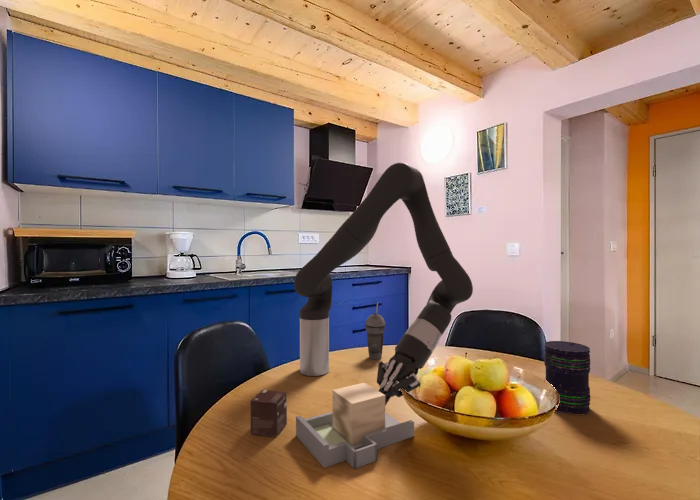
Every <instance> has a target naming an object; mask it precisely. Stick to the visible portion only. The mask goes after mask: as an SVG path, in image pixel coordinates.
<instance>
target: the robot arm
mask: <svg viewBox="0 0 700 500" xmlns="http://www.w3.org/2000/svg"><path fill="white" fill-rule="evenodd" d="M424 179H425V178H424V176H423V174H422V172H420V170H418V169H417V168H416V167H414V166H412V165H410V164H408V163H406V162H396V163H393V164H391V165H390V166H389V167H388V168H386V169H385V171H384V172H383V173H382V174H381V175H380V177H379V179H378V180H377V182H376V183H375V185H374V186H373V188H371V190H370V192H369V193H368V194H367V196H366V197H365V198H364V199H363V200H362V201H361V202H360V204H359V205H358V206H357V208H356V209H355V210H354V211H353V212H352V214H350V216H349V217H348V218H347V219H346V220H345V221H344V222H343V223H342V224H341V225H340V226H339V228H338V229H337V230H336V232H335V233H334V234H333V235H332V236H331V237H330V239H329V240H328V241H327V242H326V243H324V245H323V247H322V248H321V249H320V250H319V251H318V252H317V254H315V256H314V257H313V258H311V259H310V260H309V261H308V262H307V263H306V264H305V265H304V266H302V267H301V268H300V269H299V270H298V271H297V273H296V275H295V277H294V280H293V281H294V282H293V287H294V291H295V292H296V293H297V295H299V296H301V297H304V298H307V301H306V303H305V304H304V305H303V306H302V307H301V308H300V310H299V373H300V374H301V375H303V376H306V377H307V376H308V377H309V376H310V377H318V376H323V375H326V374H328V373H329V372H330V311H331V307H332V304H333V303H332V302H333V301H332V300H333V299H332V298H333V279H332V278H333V277H332V275H331V273H332V272H333V271H334V270H336V269H337V268H339V267H340V266H342V265H344V264H345V263H347V262H349V261H350V260H351V259H353V258H354V257H356V256H357V255H358V254H359V253H360V252H361V251H362V250H364V248H365V247H366V246H367V245H368V244H369V243H370V242H371V241H372V239H373V238H374V237H375V234H376V232H377V230H378V227H379V225H380V222H381V220H382V219H383V217H384V215H385V214H386V213H387V212H388V210H390V208H391V207H392V206H393V205H394V204H395V203H397V202H398V201H399V200H401V201H402V203H403V204H404V206H405V207H406V209H407V210H408V212H409V214H410V216H411V219H412V223H413V228H414V233H415V238H416V243H417V246H418V248H419V250H420V253H421V256H422V257H423V261H425V264H426V267H427V268H428V270H430V271H431V272H436V274H438V277H440V279H441V280H440V281H439V282H438V283H437V284H436V285H435V286H434V288H433V289H432V292H431V293H430V295H429V298H428V300H427V302H426V305H425V306H424V307H423V308H422V310H421V311H420V313H419V314H418V316H417V317H416V318H415V320H414V321H412V323H411V324H410V326H408V329H406V332H405V333H404V334H403V335H402V337H401V339H400V340H399V342H398V343H397V344H396V346H395V348H394V351H395V352H394V355H393V356H392V357H390V358H389V360H388V361H386V362H383V361H380V362H379V363H378V367H377V377H376V383H377V385H378V386H379V388H378V389H379V390H378V391H379V392H381V393H383V394H384V395H385V406H386V405H387V404H388V402H389V401H390V399H391V398H393V397H396V398H401V397H403V396H404V395H403V394H402V392H401V388H402V389H404V390H406V391H407V392H408V393H410V392H411V391H414V390H416V389H417V388H418V387H421V382H420V381H419V380H418V377H417V375H418V374H419V370H422V369H423V368H424V366H425V365H426V363H427V362H428V360H429V359H430V357H431V356H432V354H433V352H434V351H435V349H436V348H437V346H438V344H439V343H440V342H439V341H440V340H441V338H442V336H443V334H444V333H445V331H446V330H447V328H448V327H449V325H450V324H451V321H452V314H451V313H452V312H453V310H454V309H455V307H456V306H457V305H459V304H461V303H464V302H466V301H468V300H469V299H470V298H471V297H472V295H473V293H474V290H473V288H474V287H473V282H472V279H471V277H470V276H469V274H468V273H467V271H466V270H465V268H464V267H463V266H462V265H461V264H460V262H459V261H458V260H457V258H455V256H454V255H453V253H452V251H451V248H450V245H449V244H448V242H447V239H446V238H445V235H444V233H443V231H442V229H441V227H440V225H439V222H438V220H437V217H436V215H435V212H434V209H433V206H432V203H431V200H430V197H429V193H428V189H427V187H426V186H427V185H426V183H425V180H424Z"/></svg>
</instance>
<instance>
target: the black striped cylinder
mask: <svg viewBox="0 0 700 500" xmlns="http://www.w3.org/2000/svg"><path fill="white" fill-rule="evenodd" d="M590 353H591V348H590V347H589V346H587V345H585V344H581V343H577V342H572V341H564V340H550V341H545V342H544V353H543V354H544V355H543V358H544V366H545V380H547V381H548V382H549V383H550V384H552V385H553V387H555V389H556V390H557V391H558V393H559V395H560V403H559V406H558V408H557V410H555V412H558V413H562V414H566V413H567V414H566V415H571V414H585V415H587V414H586V413H588V412H589V411H590V412H591V409H590V408H591V407H590V405H591V391H590V390H591V388H590V385H589V384H590V381H589V380H590V378H589V377H590V375H589V374H590V372H591V354H590ZM590 412H589V413H590ZM589 413H588V414H589Z"/></svg>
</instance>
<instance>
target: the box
mask: <svg viewBox="0 0 700 500" xmlns="http://www.w3.org/2000/svg"><path fill="white" fill-rule="evenodd" d="M287 411H288V406H287V391H283V390H282V391H281V390H270V389H269V390H267V389H266V390H265V389H264V390H261V391H260V392H258V393H257V394H256V395H255V396H254V397H252V398H251V400H250V435H253V436H265V437H273V438H276V437H278V436H279V434H280V433H282V431H283V430H284V428H285V427H286V425H287V424H288V418H287V417H288V416H287V415H288V413H287Z"/></svg>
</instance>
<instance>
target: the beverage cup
mask: <svg viewBox="0 0 700 500" xmlns="http://www.w3.org/2000/svg"><path fill="white" fill-rule="evenodd" d="M378 308H379V301H377V302H376V309H375V313H372V314H370V315H369V316H368V317H367V318H366V321H365V325H364V327H365V332H366V338H367V340H366V341H367V350H368V358H369V359H371V360H380V359H382V356H383V346H384V337H385V336H384V335H385V333H384V332H385V329H386V321H385V319H384V318H383V316H382V315H380V314H378V311H379V309H378Z"/></svg>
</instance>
